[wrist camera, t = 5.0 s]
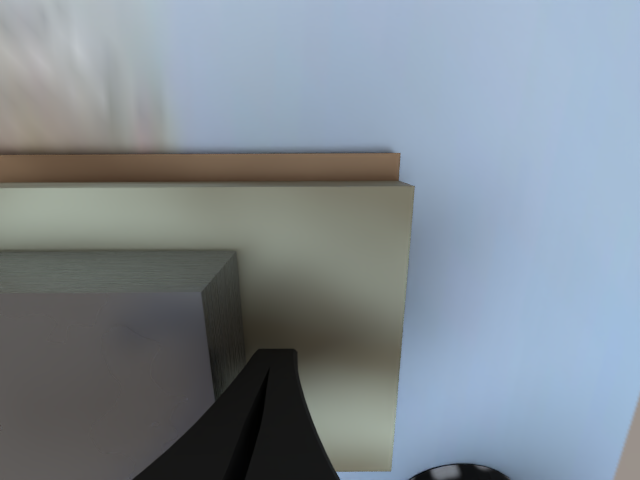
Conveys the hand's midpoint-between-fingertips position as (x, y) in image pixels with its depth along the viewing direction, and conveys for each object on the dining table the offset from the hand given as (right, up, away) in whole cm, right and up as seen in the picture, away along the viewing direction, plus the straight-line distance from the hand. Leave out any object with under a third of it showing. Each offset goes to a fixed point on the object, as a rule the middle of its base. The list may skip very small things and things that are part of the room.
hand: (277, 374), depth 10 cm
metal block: (-7, 0, +1) cm, 7 cm away
